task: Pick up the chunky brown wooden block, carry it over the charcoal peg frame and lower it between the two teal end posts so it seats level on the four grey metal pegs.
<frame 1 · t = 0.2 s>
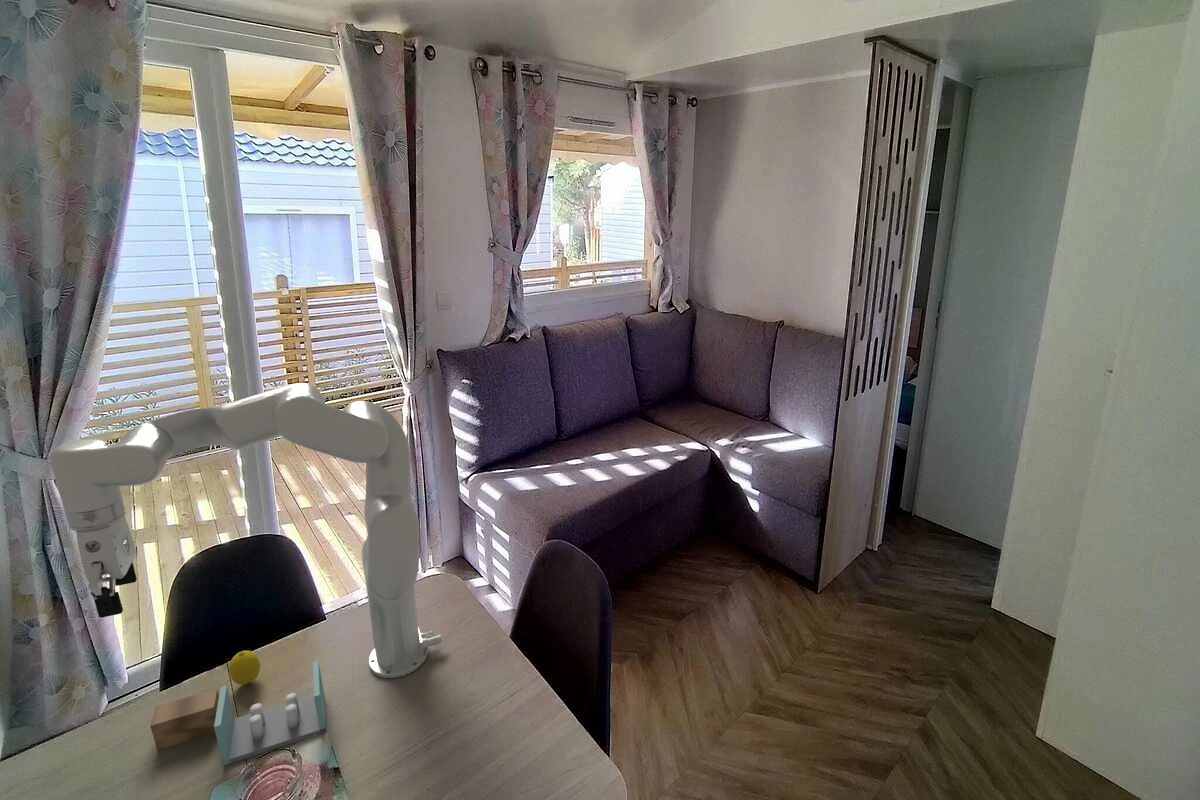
hand: (119, 598, 105), 30 cm above the table, fingers open, 9 cm apart
brown wooden block: (191, 730, 115), on the table
peg frame: (277, 728, 115), on the table
lemon: (248, 683, 126), on the table
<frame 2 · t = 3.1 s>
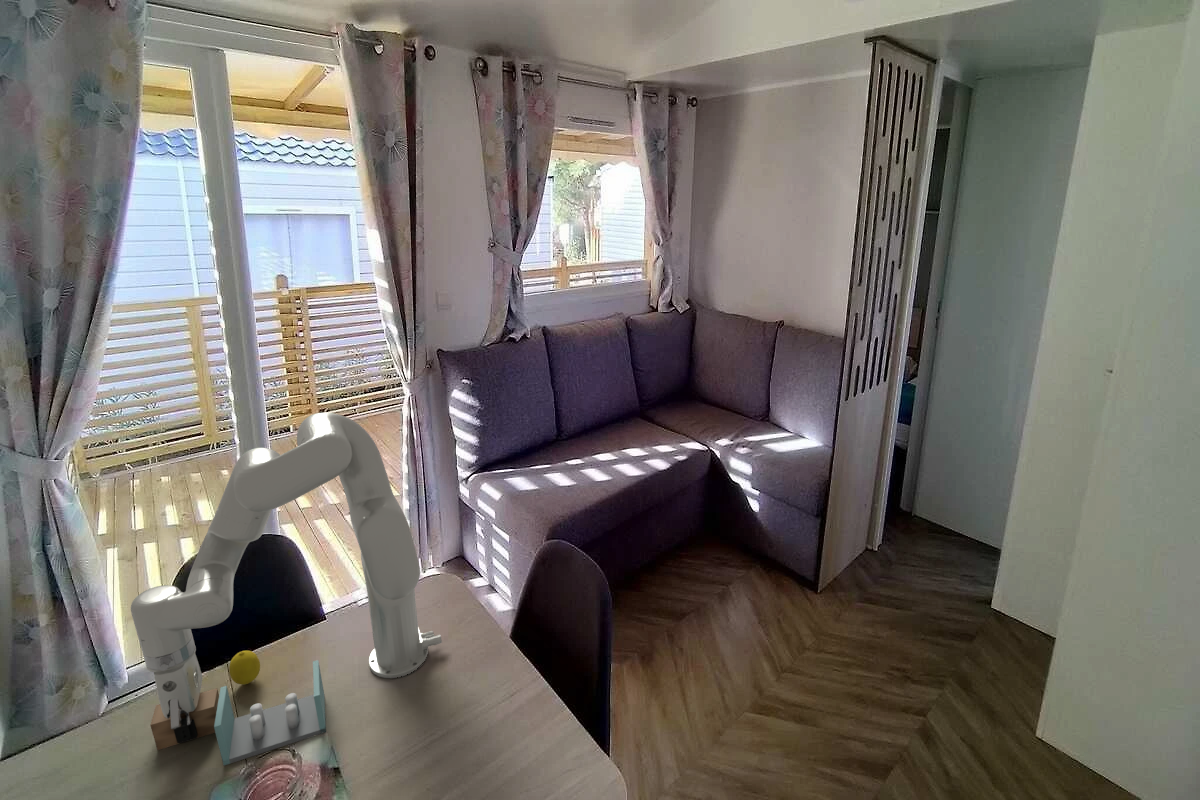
hand: (190, 727, 114), 1 cm above the table, fingers closed on brown wooden block, 5 cm apart
brown wooden block: (191, 730, 115), on the table, touching gripper
everything else where it was.
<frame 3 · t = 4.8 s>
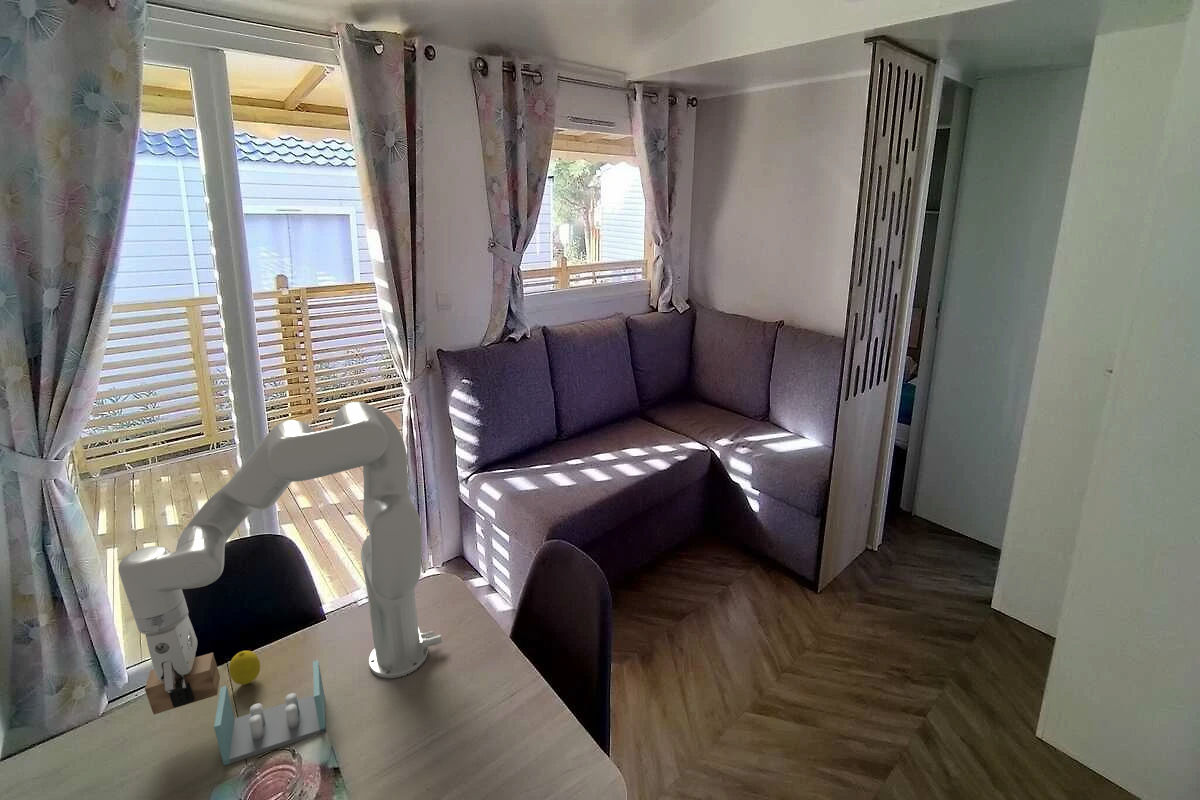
hand: (186, 692, 112), 9 cm above the table, fingers closed on brown wooden block, 5 cm apart
brown wooden block: (188, 695, 113), point 8 cm above the table, touching gripper
everything else where it was.
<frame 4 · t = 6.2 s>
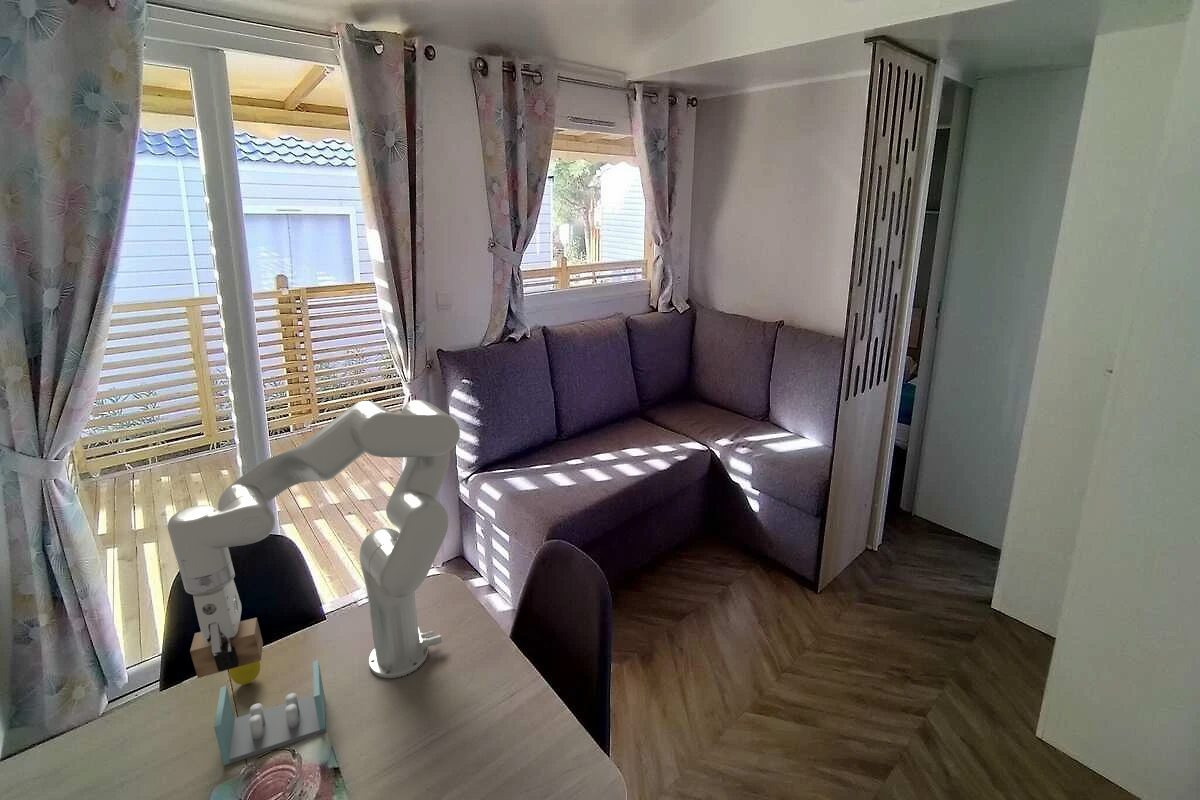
hand: (230, 656, 110), 17 cm above the table, fingers closed on brown wooden block, 5 cm apart
brown wooden block: (231, 659, 110), point 16 cm above the table, touching gripper
everything else where it was.
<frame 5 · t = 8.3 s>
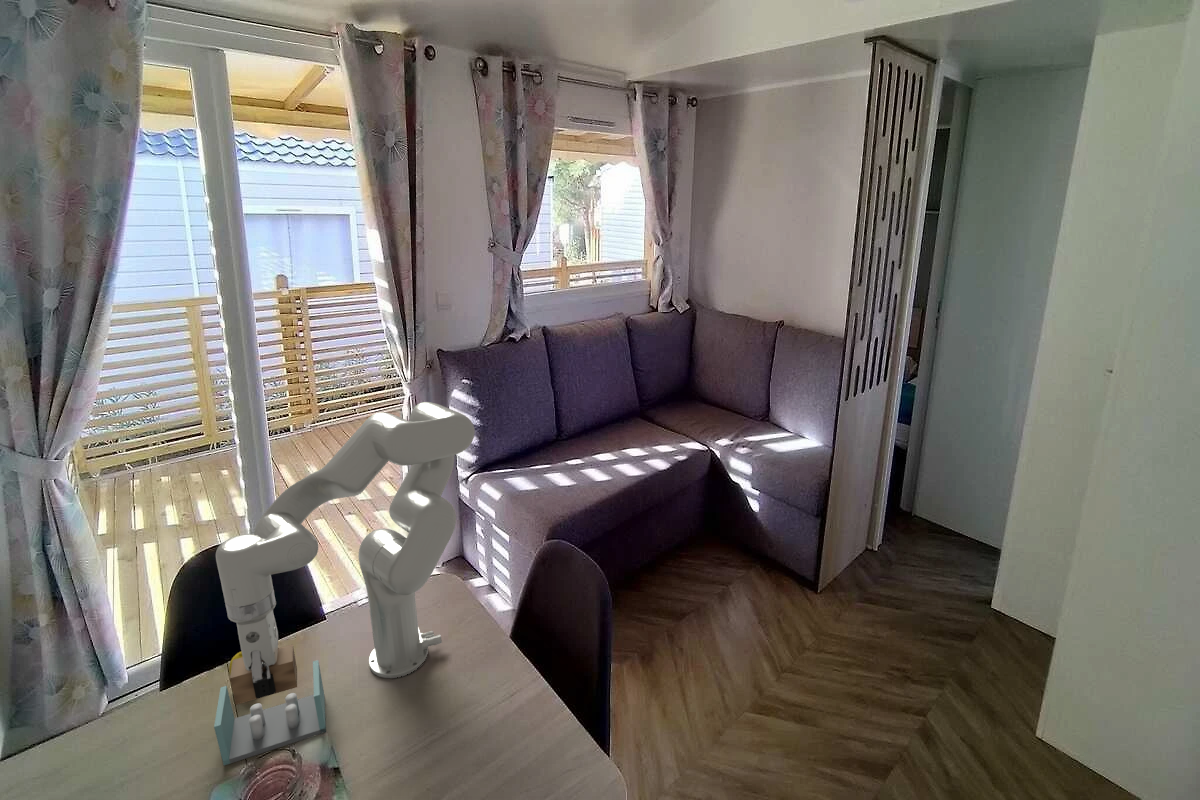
hand: (266, 683, 112), 11 cm above the table, fingers closed on brown wooden block, 5 cm apart
brown wooden block: (267, 686, 112), point 10 cm above the table, touching gripper
everything else where it was.
when the fingers open (7 cm above the table, at t = 9.6 s): brown wooden block drops 1 cm, resting on peg frame.
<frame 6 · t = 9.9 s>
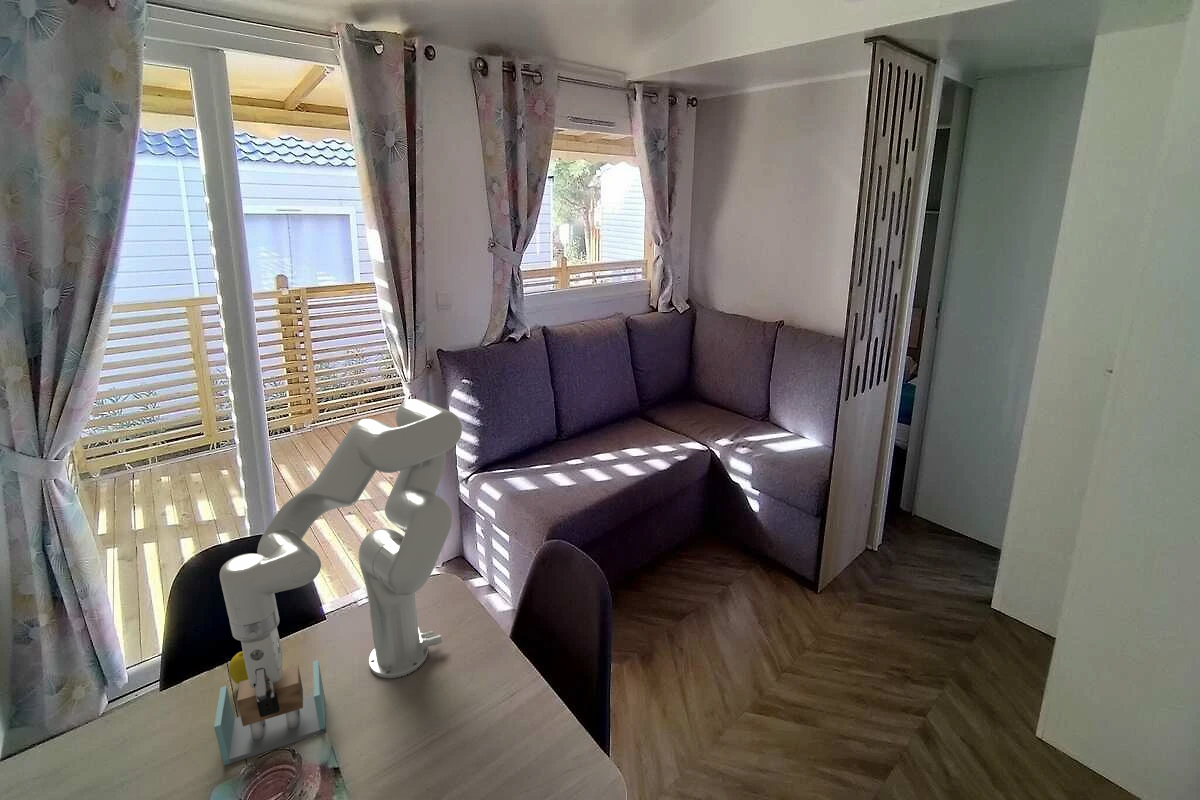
hand: (271, 696, 113), 8 cm above the table, fingers open, 7 cm apart
brown wooden block: (274, 707, 114), point 5 cm above the table, touching peg frame
everything else where it was.
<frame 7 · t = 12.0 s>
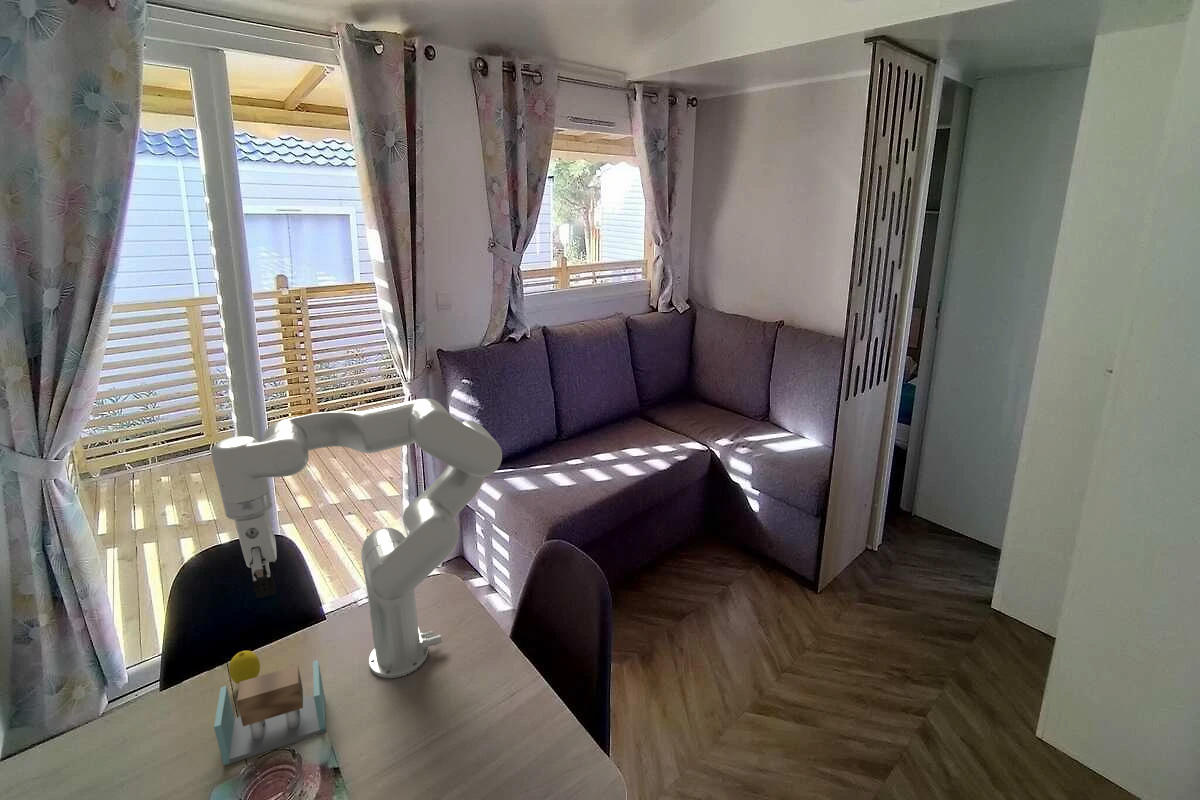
hand: (266, 581, 115), 27 cm above the table, fingers open, 9 cm apart
nothing on the table moved.
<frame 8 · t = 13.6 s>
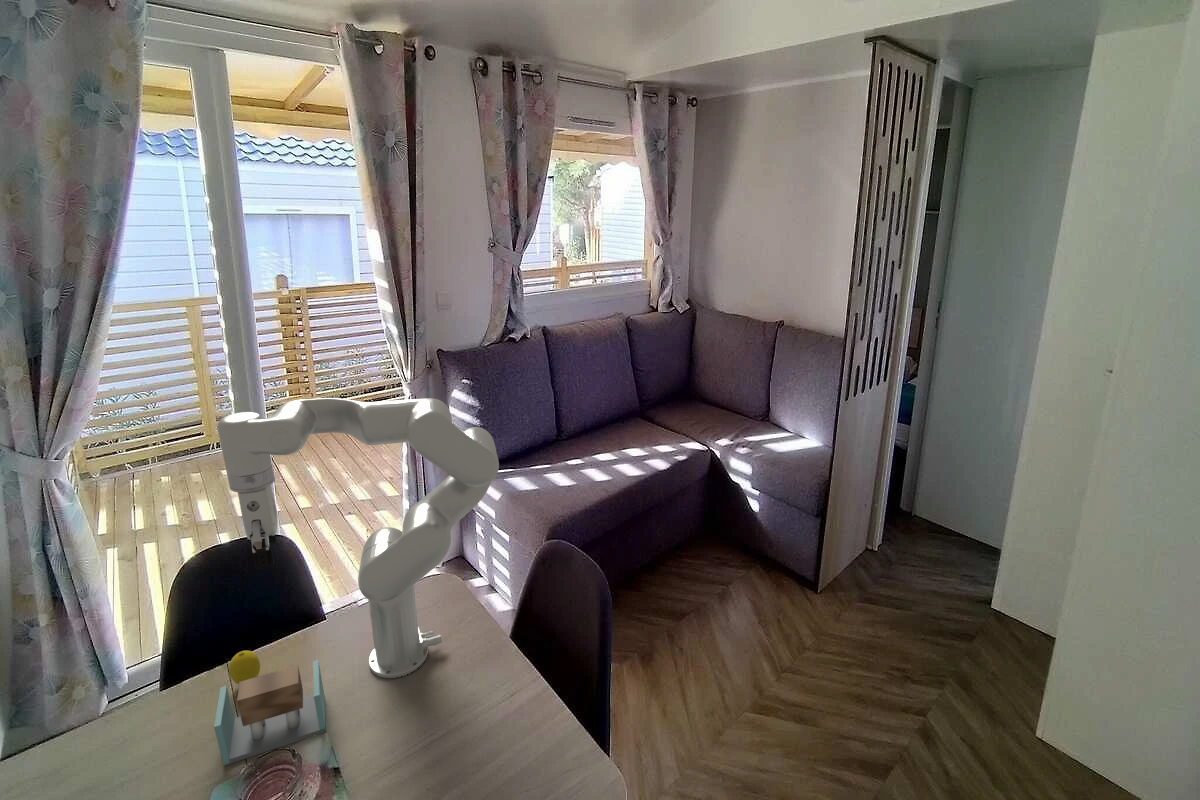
hand: (266, 554, 118), 30 cm above the table, fingers open, 9 cm apart
nothing on the table moved.
at the end: brown wooden block 0.1 cm off-centre on the peg frame, point 5.0 cm above the peg frame's base; brown wooden block tilted 0°; the gripper is holding nothing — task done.
